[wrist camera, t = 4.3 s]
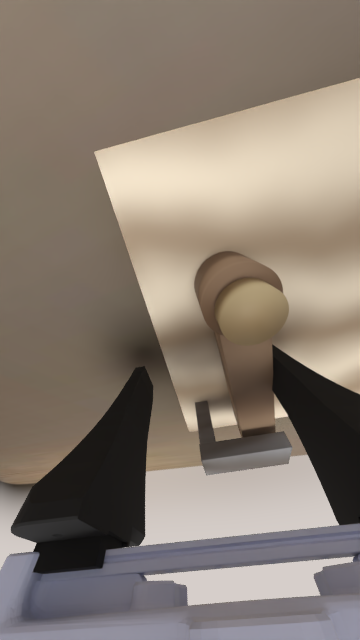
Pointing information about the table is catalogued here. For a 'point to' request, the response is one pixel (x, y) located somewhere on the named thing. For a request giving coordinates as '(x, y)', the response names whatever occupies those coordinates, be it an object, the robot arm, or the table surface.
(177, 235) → the plate
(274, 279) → the brown long round-headed piece
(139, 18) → the table surface
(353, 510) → the robot arm
